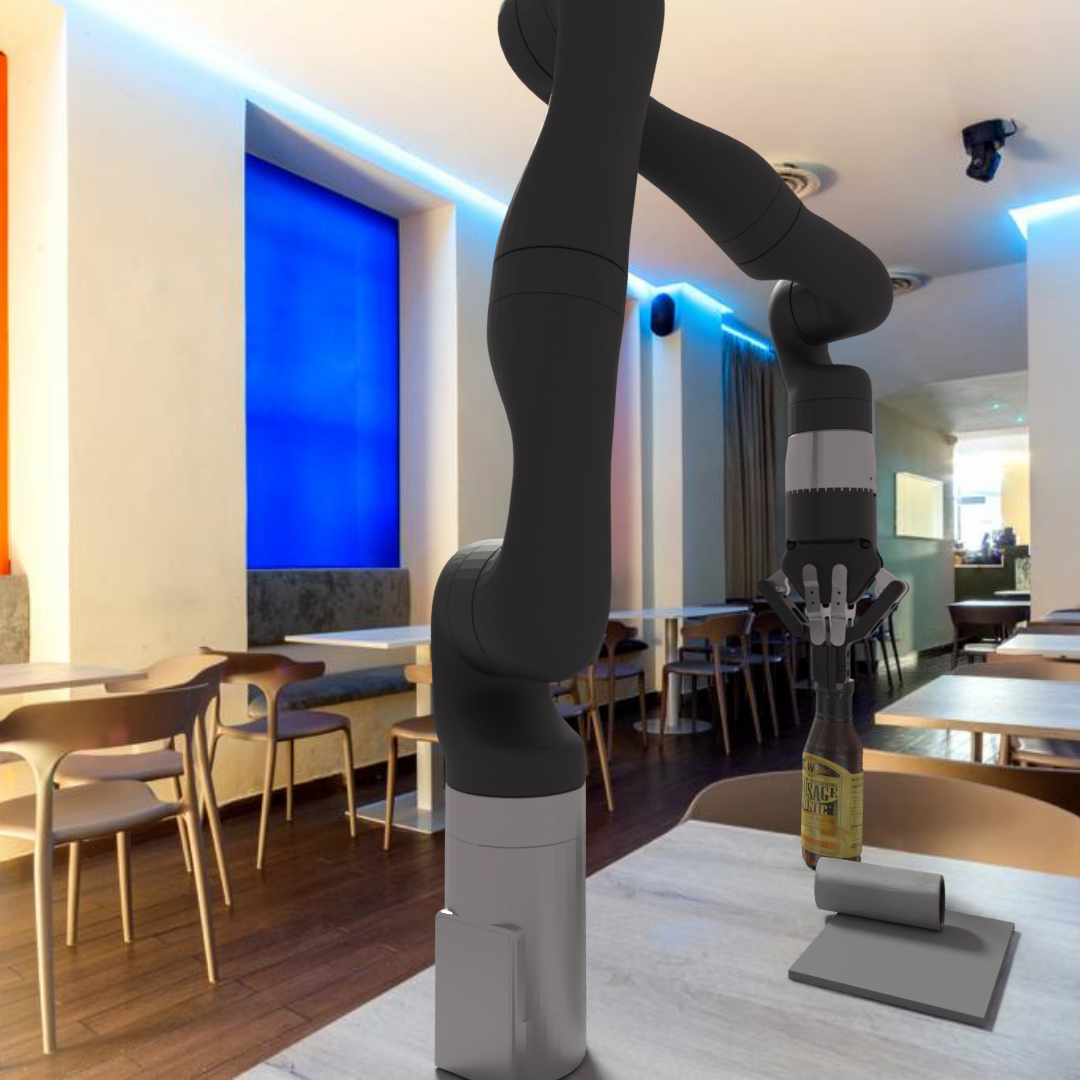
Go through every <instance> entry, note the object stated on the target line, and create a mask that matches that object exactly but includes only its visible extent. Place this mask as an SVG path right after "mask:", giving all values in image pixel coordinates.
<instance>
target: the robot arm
mask: <svg viewBox="0 0 1080 1080" xmlns="http://www.w3.org/2000/svg"><path fill="white" fill-rule="evenodd" d="M665 14H666V1H665V0H501V2H500V5H499V10H498V14H497V21H496V22H497V23H496V25H497V29H496V30H497V36H498V39H499V40H498V41H499V45H500V48H501V51H502V53H503V55H504V58H505V60H506V62H507V64H508V65H509V67H510V68H511V70H512V71H513V73H514V74H515V75H516V77H517V78H518V79H519V81H520V82H521V83H522V84H523V85H524V86H525V87H526V88H527V89H528V90H529V91H530V92H532V93H533V94H534V96H536V97H537V98H538V99H540V101H542V102H543V103H544V104H545V105H547V109H546V110H547V111H546V114H545V116H544V120H543V122H542V126H541V128H540V130H539V133H538V136H537V138H536V141H535V143H534V146H533V148H532V150H531V153H530V154H529V157H528V159H527V160H526V161H527V162H526V164H525V166H524V168H523V171H522V173H521V175H520V178H519V180H518V182H517V185H516V187H515V189H514V193H513V195H512V198H511V200H510V202H509V205H508V207H507V210H506V212H505V214H504V218H503V221H502V224H501V227H500V229H499V232H498V236H497V242H496V245H495V251H494V256H493V263H492V269H491V280H490V286H489V287H490V288H489V296H488V306H487V317H486V344H487V345H486V346H487V352H488V358H489V362H490V366H491V369H492V373H493V377H494V380H495V384H496V386H497V390H498V393H499V396H500V398H501V401H502V402H501V403H502V404H503V409H504V412H505V415H506V418H507V422H508V424H509V430H510V434H511V440H512V461H513V463H512V479H511V488H510V496H509V504H508V505H509V506H508V514H507V521H506V527H505V531H504V535H503V537H501V538H500V537H499V538H490V539H482V540H478V541H474V542H472V543H469V544H467V545H465V546H463V547H461V548H459V549H458V550H457V551H456V552H455V553H454V554H453V555H452V556H451V557H449V559H448V560H447V562H445V565H444V566H443V568H442V569H441V571H440V574H439V576H438V578H437V581H436V582H435V583H436V585H435V587H434V591H433V596H432V603H431V611H430V613H431V614H430V653H431V654H430V656H431V657H430V658H431V683H432V684H431V685H432V686H431V687H432V688H431V689H432V710H433V711H432V713H433V724H434V729H435V735H436V737H437V742H438V744H439V746H440V748H441V750H442V753H443V757H444V758H443V759H444V764H445V765H444V766H445V768H444V769H445V770H444V771H445V774H444V775H445V776H444V777H445V817H444V818H445V821H444V822H445V823H444V824H445V827H444V828H445V829H444V830H445V831H444V836H445V837H444V840H445V841H444V908H442V909H441V910H439V911H437V913H436V915H435V919H434V920H435V924H434V925H435V927H434V929H435V933H434V937H435V939H434V940H435V941H434V943H435V945H434V947H435V948H434V956H435V957H434V976H435V977H434V1066H435V1067H437V1068H440V1069H443V1070H445V1071H448V1072H449V1073H453V1074H454V1075H458V1076H460V1077H461V1078H465V1079H468V1080H560V1079H561V1078H563V1077H566V1076H567V1075H569V1074H570V1073H572V1072H573V1071H574V1070H575V1069H577V1068H578V1067H579V1066H581V1063H582V1062H583V1061H584V1059H585V1057H586V1052H587V889H586V887H587V886H586V885H587V883H586V882H587V880H586V878H587V875H586V874H587V868H586V867H587V866H586V865H587V862H586V861H587V859H586V857H587V853H586V852H587V850H586V848H587V847H586V844H587V843H586V841H587V839H586V838H587V837H586V836H587V835H586V833H587V832H586V828H587V825H586V823H587V816H586V815H587V814H586V813H587V810H586V806H587V800H586V799H587V797H586V794H587V793H586V792H587V791H586V790H587V789H586V788H587V786H586V785H587V782H586V781H587V760H586V759H587V756H586V755H587V754H586V753H587V752H586V748H585V747H586V746H585V743H584V741H583V739H582V737H581V736H580V735H579V734H578V732H577V731H576V730H575V729H573V727H571V725H569V723H568V721H566V720H565V719H564V717H563V716H562V715H561V713H560V711H559V710H558V708H557V706H556V704H555V700H554V699H553V696H552V692H551V683H559V682H565V681H567V680H570V679H572V678H574V677H575V676H578V675H579V674H580V673H581V672H583V671H584V670H586V668H587V667H588V666H589V664H590V663H591V662H592V661H593V660H594V659H595V657H596V655H597V653H598V651H599V650H600V648H601V647H602V643H603V641H604V638H605V634H606V632H607V628H608V624H609V617H610V612H611V601H612V575H613V573H612V460H613V459H612V456H613V442H614V431H615V430H614V429H615V418H616V417H615V413H616V402H617V401H616V399H617V397H616V396H617V385H618V372H619V362H620V353H621V347H622V341H623V340H622V338H623V332H624V324H625V316H626V315H625V314H626V304H627V293H628V285H629V283H628V281H629V264H630V263H629V261H630V260H629V259H630V246H631V237H632V235H631V234H632V225H633V216H634V210H635V209H634V207H635V199H636V191H637V186H638V185H637V183H638V174H639V175H640V176H641V177H643V178H644V179H645V180H646V181H647V182H649V183H650V184H652V186H654V187H655V188H657V190H659V191H661V193H662V194H664V195H665V196H667V198H669V199H670V200H671V201H672V202H673V203H674V204H676V205H677V206H678V207H679V208H680V209H681V210H683V211H684V212H685V214H686V215H688V217H690V219H691V220H692V221H694V223H696V224H697V225H698V227H699V228H701V230H702V231H703V232H704V233H705V234H706V235H707V236H708V237H709V238H710V240H712V241H713V243H715V245H717V247H718V248H719V249H720V250H721V251H722V252H723V253H724V254H725V255H726V257H728V259H730V260H731V262H733V264H734V265H735V266H736V267H738V269H739V270H740V271H741V272H743V273H744V274H745V275H746V276H747V277H749V278H750V279H753V280H756V281H760V282H761V281H763V282H765V281H777V282H776V284H775V285H774V287H773V290H772V291H771V292H772V293H771V294H770V298H769V301H768V307H767V320H768V321H767V323H768V327H769V330H770V335H771V338H772V342H773V344H774V348H775V352H776V356H777V358H778V363H779V366H780V370H781V374H782V377H783V381H784V384H785V388H786V391H787V437H788V438H787V449H786V456H785V466H784V467H785V469H784V471H785V473H784V475H785V480H784V481H785V484H784V485H785V486H784V487H785V488H784V489H785V496H784V497H785V550H784V554H783V556H782V558H781V560H780V568H779V569H778V570H776V572H775V573H772V574H771V576H769V577H768V578H767V579H760V580H758V582H757V584H756V588H757V590H758V592H759V593H760V594H761V596H762V597H763V598H764V599H765V601H766V602H767V603H768V604H769V606H770V608H771V609H772V610H773V611H774V613H775V614H776V615H777V617H778V618H779V620H781V622H782V624H783V625H784V626H785V627H786V629H787V630H788V631H789V632H790V634H791V635H792V636H794V637H799V638H801V639H803V640H806V641H807V642H809V644H810V646H811V651H812V652H811V653H812V655H811V656H812V665H811V666H812V668H811V669H812V678H813V680H814V683H815V682H819V685H820V689H826V690H840V689H842V688H843V684H844V683H847V682H848V681H849V679H851V647H852V644H854V643H855V642H857V641H860V640H863V639H869V638H871V637H872V636H873V635H874V634H875V632H876V631H877V630H878V629H879V628H880V627H881V625H882V624H883V623H884V622H885V621H886V619H887V618H888V617H889V616H890V615H891V613H892V612H893V610H895V609H896V608H897V606H898V604H900V602H901V601H902V600H903V598H904V597H906V595H907V594H908V593H909V591H910V585H909V583H908V582H907V581H905V580H902V579H899V578H898V577H896V576H895V575H893V574H892V573H891V572H890V571H888V570H887V569H885V568H884V560H883V557H882V556H881V555H880V552H879V549H878V534H877V533H878V531H877V530H878V528H877V527H878V523H877V521H878V520H877V518H878V517H877V514H878V513H877V511H878V509H877V507H878V506H877V504H878V503H877V486H878V472H877V459H876V452H875V451H876V450H875V447H874V439H873V437H874V436H873V431H874V430H873V429H874V428H873V386H872V380H871V377H870V375H869V373H868V371H866V370H865V369H864V368H862V367H859V366H856V365H852V364H845V363H844V364H843V363H842V364H841V363H838V364H837V363H833V362H832V359H831V356H830V352H829V344H831V343H836V342H838V341H842V340H846V339H850V338H854V337H859V336H861V335H865V334H867V333H870V332H872V331H874V330H877V328H879V327H880V326H882V324H883V323H884V322H885V321H886V320H887V319H888V317H889V316H890V313H891V311H892V308H893V304H894V285H893V281H892V278H891V277H890V274H889V271H888V269H887V268H886V266H885V265H884V263H883V261H882V260H881V259H880V257H878V256H877V254H876V253H875V252H874V251H873V250H871V248H869V247H868V246H867V245H865V244H864V243H862V242H861V241H859V240H858V239H856V238H855V237H854V236H851V235H850V234H849V233H848V232H845V231H844V230H842V229H841V228H839V227H838V226H836V225H834V224H833V223H832V222H830V221H829V220H826V219H825V218H824V217H822V216H819V215H818V214H816V213H814V212H813V211H811V210H810V209H808V208H807V206H806V205H805V204H804V202H803V201H802V200H801V199H800V198H799V197H798V195H797V194H796V193H795V192H794V191H793V190H792V188H791V187H790V186H789V185H788V184H787V182H786V181H785V180H784V179H783V177H782V176H781V175H780V174H779V173H778V172H777V170H776V169H774V167H773V166H772V165H771V164H770V163H769V162H768V161H767V159H765V158H764V157H763V156H762V155H760V154H759V153H758V152H757V151H756V150H754V149H753V148H751V147H750V146H748V145H747V144H745V143H743V142H742V141H740V140H739V139H736V138H735V137H732V136H730V135H728V134H726V133H724V132H722V131H720V130H717V129H715V128H713V127H710V126H708V125H705V124H704V123H700V122H699V121H696V120H694V119H692V118H689V117H687V116H685V115H684V114H681V113H679V112H677V111H675V110H673V109H672V108H670V107H668V106H667V105H665V104H664V103H661V102H660V101H658V100H657V99H656V98H654V97H653V96H652V95H651V92H652V87H653V82H654V78H655V72H656V68H657V63H658V59H659V58H658V57H659V54H660V49H661V44H662V38H663V37H662V36H663V31H664V25H665ZM789 582H790V584H791V585H792V587H793V588H794V590H796V592H797V594H798V595H799V597H800V598H801V599H802V601H804V602H805V608H806V609H805V610H806V615H807V618H808V619H807V618H806V617H805V615H804V614H803V613H802V612H801V610H800V609H799V607H797V605H796V604H795V602H794V601H793V599H792V598H791V596H789V594H790V592H791V587H790V585H789ZM875 582H876V585H875V587H874V594H875V595H876V597H877V598H876V599H875V600H874V601H873V602H872V604H871V605H870V606H869V607H868V609H867V610H866V611H865V612H864V613H863V615H862V616H861V617H860V619H859V620H858V621H857V622H856V623H855V625H854V619H855V617H856V611H857V603H858V602H859V601H861V599H863V597H864V595H866V593H867V592H868V590H869V589H870V588H871V587H872V585H873V584H874V583H875Z"/></svg>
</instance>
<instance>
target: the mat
mask: <svg viewBox="0 0 1080 1080" xmlns="http://www.w3.org/2000/svg"><path fill="white" fill-rule="evenodd" d="M1014 929H1015V922H1013V921H1007V920H1002V919H996V918H991V917H986V916H980V915H975V914H970V913H964V912H960V911H954V910H949V909H945V921H944V927H943V930H942V931H939V930H933V929H927V928H922V927H916V926H911V925H905V924H899V923H894V922H888V921H883V920H877V919H871V918H866V917H860V916H855V915H849V914H843V913H838V912H836V913H835V915H834V916H833V917H832V918H831V919H830V921H828V923H827V924H826V925H825V926H824V928H822V930H821V931H820V933H818V934H817V936H816V937H814V939H813V940H812V941H811V943H810V944H809V945H808V946H807V947H806V949H805V950H804V951H803V952H802V953H801V954H800V956H799V957H798V958H796V960H795V961H794V963H792V965H791V966H790V967H789V968H788V969H787V973H788V975H787V977H788V978H789V979H791V980H794V981H795V980H796V981H800V982H803V983H807V984H811V985H815V986H820V987H823V988H828V989H830V990H831V989H832V990H835V991H838V992H842V993H847V994H851V995H856V996H859V997H863V998H867V999H870V1000H875V1001H879V1002H883V1003H886V1004H892V1005H895V1006H899V1007H903V1008H906V1009H911V1010H915V1011H919V1012H923V1013H926V1014H929V1015H930V1014H931V1015H934V1016H939V1017H943V1018H947V1019H951V1020H955V1021H959V1022H962V1023H965V1024H966V1023H967V1024H970V1025H975V1026H978V1027H982V1028H984V1027H985V1025H986V1022H987V1019H988V1015H989V1013H990V1009H991V1006H992V1003H993V999H994V998H995V997H994V996H995V993H996V989H997V986H998V984H999V981H1000V977H1001V974H1002V971H1003V968H1004V965H1005V961H1006V959H1007V956H1008V952H1009V949H1010V947H1011V943H1012V940H1013V937H1012V935H1013V936H1014V933H1015V930H1014ZM1013 932H1014V933H1013ZM1011 939H1012V940H1011ZM1010 942H1011V943H1010Z"/></svg>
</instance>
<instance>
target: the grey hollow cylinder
mask: <svg viewBox="0 0 1080 1080" xmlns="http://www.w3.org/2000/svg"><path fill="white" fill-rule="evenodd" d="M814 873H815V874H814V882H813V883H814V884H813V885H814V887H813V891H814V893H813V894H814V900H815V906H816V908H817V909H818V910H822V911H828V912H833V913H837V912H838V913H843V914H849V915H855V916H860V917H866V918H871V919H877V920H883V921H888V922H894V923H899V924H905V925H911V926H916V927H922V928H927V929H933V930H939V931H942V930H943V927H944V921H945V910H946V883H945V882H946V881H945V878H944V877H945V876H943V874H940V873H934V872H927V871H921V870H916V869H915V870H914V869H910V868H909V869H907V868H903V867H901V868H900V867H894V866H888V865H880V864H876V863H868V862H862V861H861V862H856V861H849V860H842V859H836V858H829V857H820V858H819V860H818V862H817V866H816V867H815V872H814Z"/></svg>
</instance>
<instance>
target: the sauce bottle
mask: <svg viewBox="0 0 1080 1080" xmlns="http://www.w3.org/2000/svg"><path fill="white" fill-rule="evenodd" d="M813 688H814V691H815V694H816V696H815V713H814V714H815V715H814V718H813V722H812V724H811V726H810V727H811V728H810V731H809V733H808V736H807V739H806V742H805V745H804V747H803V751H802V766H801V767H802V768H801V769H802V778H801V819H800V821H801V826H800V827H801V829H800V844H801V856H802V858H803V860H804V862H805V863H806V864H807V865H810V866H811V867H813V868H816V866H817V862H818V860H819V858H820V857H829V858H836V859H842V860H849V861H856V862H862V856H861V855H862V852H863V832H864V831H863V828H864V827H863V825H864V823H863V819H864V818H863V816H864V815H863V812H864V810H863V809H864V773H865V771H864V768H863V767H864V766H863V764H864V760H863V757H864V748H863V747H864V746H863V744H864V743H863V741H862V739H861V737H860V735H859V734H858V732H857V730H856V727H855V724H854V721H853V718H854V715H853V694H854V693H855V679H852V678H850V679H849V681H848V682H847V683H844V684H843V688H842V689H840V690H826V689H820V685H819V682H815V681H814V687H813Z"/></svg>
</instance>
